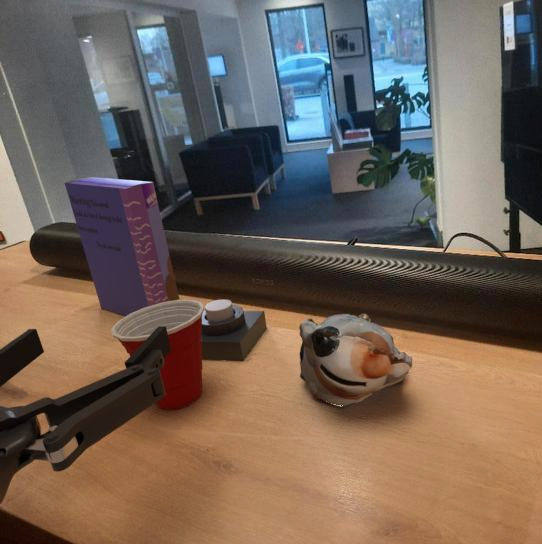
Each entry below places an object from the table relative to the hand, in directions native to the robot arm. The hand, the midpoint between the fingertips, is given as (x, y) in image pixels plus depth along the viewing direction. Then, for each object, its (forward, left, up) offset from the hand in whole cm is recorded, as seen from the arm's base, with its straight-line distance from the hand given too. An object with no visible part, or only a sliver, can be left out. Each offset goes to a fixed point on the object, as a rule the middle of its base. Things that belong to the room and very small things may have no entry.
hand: (100, 339), depth 50 cm
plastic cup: (0, +10, -15) cm, 18 cm away
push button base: (-1, +24, -14) cm, 28 cm away
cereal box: (-21, +34, -15) cm, 43 cm away
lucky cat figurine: (+23, +14, -15) cm, 31 cm away
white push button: (0, +24, -10) cm, 26 cm away
